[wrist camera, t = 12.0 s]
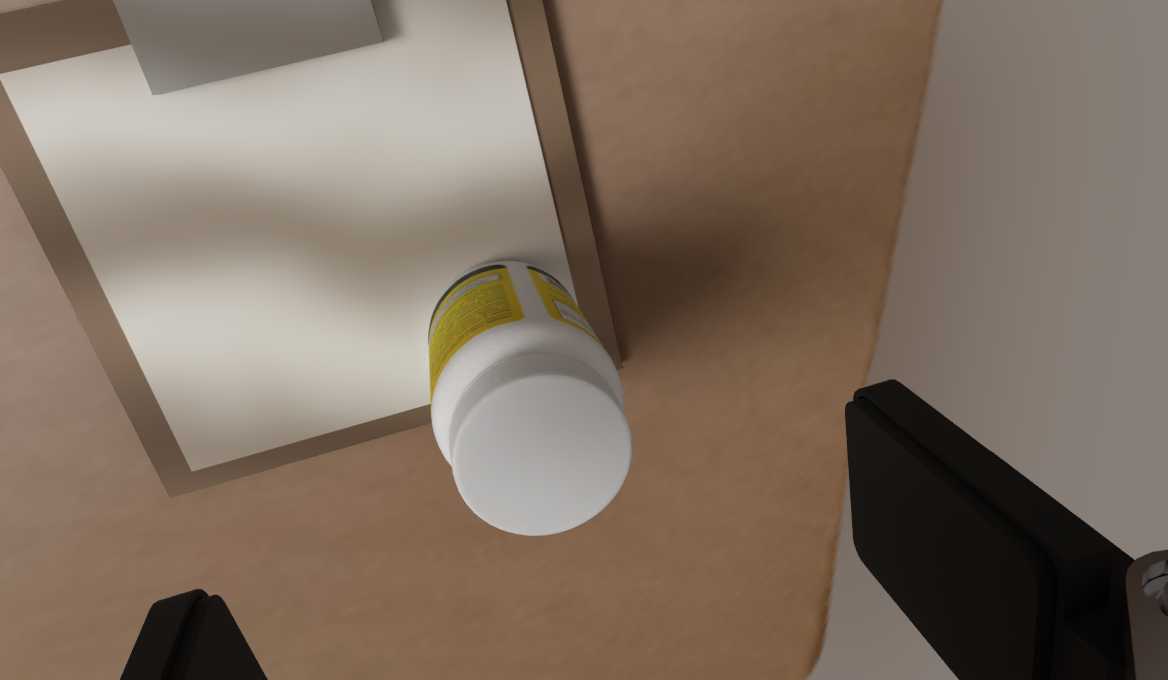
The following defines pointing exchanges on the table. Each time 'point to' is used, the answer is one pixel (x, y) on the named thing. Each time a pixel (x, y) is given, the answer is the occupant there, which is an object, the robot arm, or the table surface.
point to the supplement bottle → (525, 400)
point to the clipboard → (285, 203)
